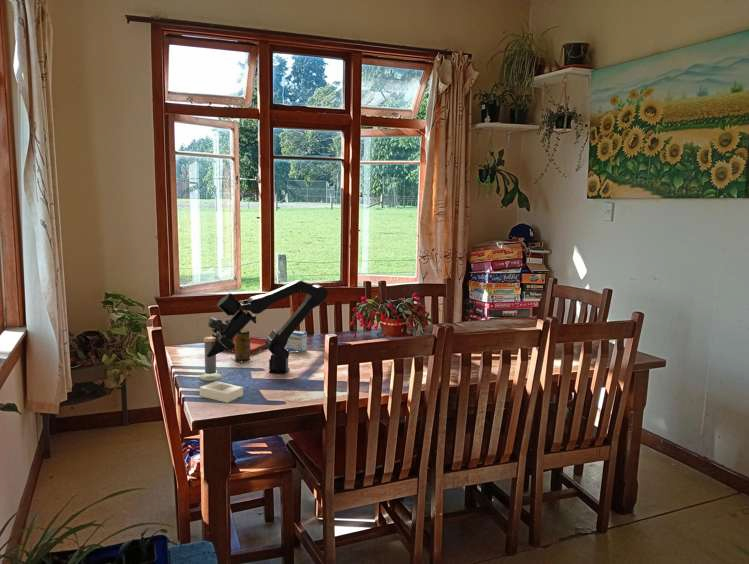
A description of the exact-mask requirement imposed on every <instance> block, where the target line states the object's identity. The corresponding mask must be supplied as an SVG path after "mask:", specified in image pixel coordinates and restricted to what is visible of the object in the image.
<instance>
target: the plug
mask: <svg viewBox="0 0 749 564" xmlns="http://www.w3.org/2000/svg"><path fill="white" fill-rule="evenodd" d="M215 338H216V337H212V336H206V337H204V338H203V343H204V374H214V373H217V354H216V355H214V356H211V357H207V354H208V353H209V351H210V350H211V349H212V347H213V346H214V344H215Z"/></svg>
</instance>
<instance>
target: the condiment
mask: <svg viewBox="0 0 749 564" xmlns="http://www.w3.org/2000/svg"><path fill="white" fill-rule="evenodd" d="M250 337H251V336H250V331H249V330H248V329H242V330H241V333H240V334H239V333H238V334H237V335H236V338H235V352H234V357H231V358H230V359H231V360H232V361H236V362H238V363H240V364H241V363H251V362H255V361H257V360H256V359H255V358H252V357H251V354H250ZM241 361H242V362H241Z"/></svg>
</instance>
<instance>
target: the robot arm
mask: <svg viewBox="0 0 749 564" xmlns="http://www.w3.org/2000/svg"><path fill="white" fill-rule="evenodd" d="M299 292H303V293H305V294H306V295H305V298H304V300H303V302H302V303H301V304H300V306H299V307H298V308H297V309H296V310H295V311H294V312H293V313H292V315H291V316H290V317H289V318H288V319H287V321H286V322H285V323H284V324H283V326H282V327H281V328H279V330H277V331H276V330H275V329H273V330H272V331H271V332H270V334H269V335H267V336H266V339H267V340H266V342H265V343H266V347H265V348H266V349H267V350H268V351H269V352H270V354H271V355H270V359H269V360H268V369H269V371H268V373H269V374H270V373H271V374H280V375H281V374H284V375H285V374H287V372H288V371H290V367H289V355H291V354H290V353H291V352H290V351H287V350H286V348H285V347H286V344H287V342H288V339H289V337H290V335H291V334H292V333H293V332H294V331H296V329H298V327H299V326H300V324H301V323H302V322H303V321H304V320H305V319H306V318H307V316H308V315H309V314H310V313H311V311H312V310H313V309H314V308H316V307H318V306H320V305H321V304H322V303H324V302H325V301H326V300H327V299H328V297H329V291H328V290H327V288H326V287H324V286H322V285H320V284H318V283H317V284H310V283H308V282H306V281H304V280H302V279H299V278H298V279H295V280H293V281H292V282H290V283H288V284H286V285H282V286H281V287H279V288H276V289H274V290H272V291H270V292H267V293H261V294H257V295H253V296H250V297H248V299H245V300H243V299H242V300H238V298H236V297H235V295H234V294H232V293H231V292H229V293H228V294H226V295H225V296H224V297H221V299H219V301H218V303H217V305H216V307H217V308H218V309H220V310H221V311H222V312H223V313H225V315H227V316H228V317H230V316H232V317H231V318H230V319H226V320H225V321H223V320H222V319H219V318H216V317H213V316H210V318H209V320H208V322H207V326H208V327H209V328H211V331H212V333H211V337H216V338H215V344H214V346H213V347H212V349H211V350H210V351H209V353H208V354H207V357H211V356H214V355H216V356H217V355H219V354H221V353H223V352H227V351H226V350H228V349H229V350H230V351H229V352H232V350H233V349H234V348H235V344H234V342H233V341H234V340H233V338H234V337H235V336H236V335H237V334H238V333H239V334H240V333H241V330H244V328H245V327H246V326H247V325H248V324H249V323H250V322H251V321H252V322H253V324H256V323H257V316H256V315H258V314H261V313H263V312H264V311H265V310H267V309H268V308H269V307H270V306H271V305H273V304H274V303H277V302H278V301H281V300H284V299H286V298H288V297H290V296H292V295H294V294H297V293H299ZM244 310H245V311H244ZM249 311H250V312H249ZM252 314H253V315H252ZM232 353H233V352H232Z"/></svg>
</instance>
